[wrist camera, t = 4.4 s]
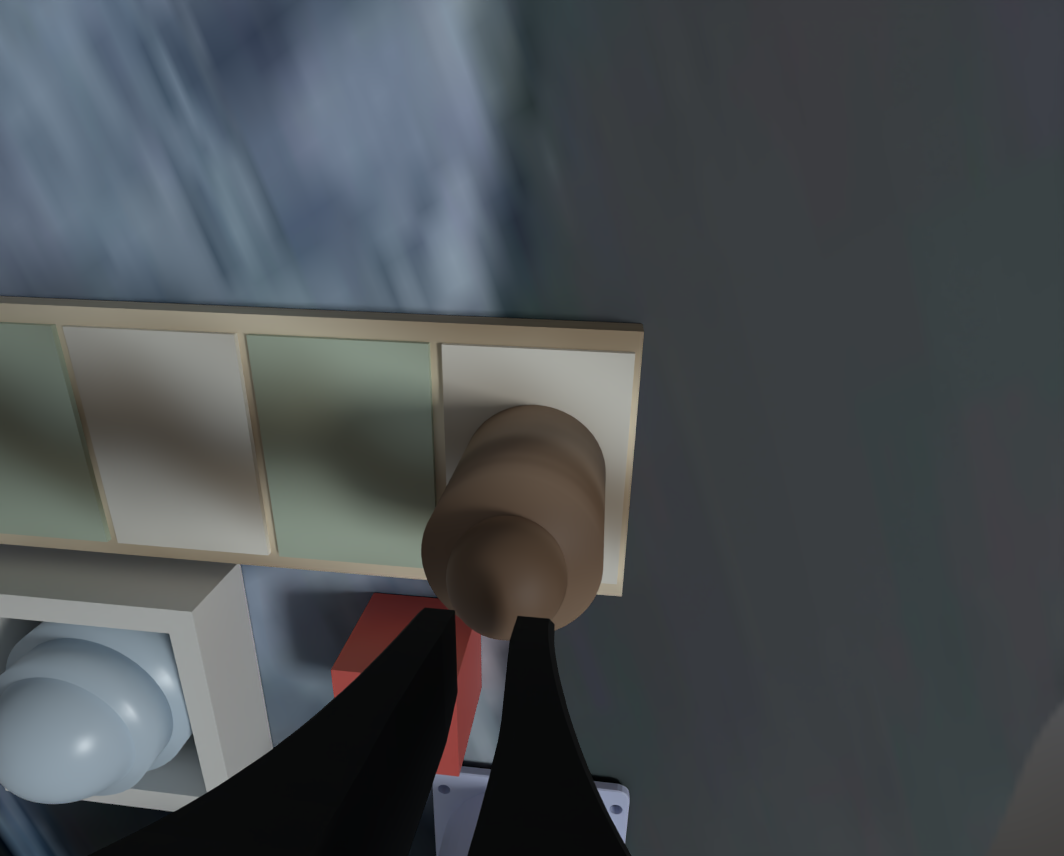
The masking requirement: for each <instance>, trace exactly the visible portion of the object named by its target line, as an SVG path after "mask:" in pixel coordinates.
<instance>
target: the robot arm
mask: <svg viewBox="0 0 1064 856" xmlns="http://www.w3.org/2000/svg"><path fill="white" fill-rule="evenodd" d="M554 631H555V624H554V623H553V622H552V621H551V620H550V619H548V618H537V617H526V616H517V619H516V622H515V625H514V628H513V631H512V634H511V638H510V643H509V653H508V662H507V672H506V682H505V691H504V701H503V711H502V721H501V727H500V733H499V739H498V743H497V747H496V751H495V755H494V759H493V763H492V767H491V769H484V768H475V767H466V766H462V767H461V771H460V775H459V777H458V776H449V775H440V774H436V772H437V769H438V766H439V764H440V761H441V758H442V755H443V752H444V749H445V746H446V743H447V738H448V734H449V730H450V725H451V721H452V716H453V712H454V707H455V703H456V698H457V693H458V685H457V654H456V623H455V610H447V609H436V608H423V609H422V610H421V611H420V612H419V613H418V614H417V615H416V616H415V617H414V618H413V619H412V620H411V621H410V623H409V624H408V625H407V626H406V627H405V628H404V629H403V630H402V631H401V632H400V634H399V635H398V636H397V637H396V638H395V639H394V640H393V641H392V642H391V643H390V644H389V645H388V646H387V647H386V648H385V649H384V651H383V652H382V653H381V654H380V655H379V656H378V657H377V658H376V659H375V660H374V661H373V662H372V663H371V664H370V665H369V666H368V667H367V668H366V669H365V670H364V671H363V672H362V673H361V674H360V675H359V676H358V677H357V678H356V679H355V680H354V681H353V682H351V683H350V684H349V685H348V686H347V687H346V688H345V689H344V690H343V691H342V692H340V693H339V694H338V695H337V696H336V697H335V698H334V699H333V700H332V701H331V702H329V703H328V704H327V705H326V706H325V707H324V708H323V709H322V710H321V711H319V712H318V713H317V714H316V715H315V716H313V717H312V718H311V719H310V720H309V721H307V722H306V723H305V724H304V725H303V726H301V727H300V728H299V729H298V730H296V731H295V732H294V733H293V734H291V735H290V736H289V737H287V738H286V739H285V740H283V741H282V742H281V743H280V744H278V745H277V746H276V747H274V748H273V749H272V750H270V751H269V752H267V753H266V754H265V755H263V756H262V757H260V758H259V759H257V760H256V761H255V762H253V763H252V764H250V765H249V766H247V767H246V768H244V769H243V770H241V771H240V772H238V773H237V774H235V775H234V776H232V777H231V778H229V779H228V780H226V781H225V782H223V783H222V784H220V785H218V786H217V787H215V788H214V789H212V790H210V791H209V792H207V793H205V794H204V795H202V796H200V797H199V798H197V799H195V800H194V801H192V802H190V803H189V804H187V805H185V806H183V807H181V808H180V809H178V810H176V811H174V812H173V813H171V814H169V815H167V816H165V817H164V818H162V819H160V820H158V821H156V822H154V823H153V824H151V825H149V826H147V827H145V828H143V829H141V830H139V831H137V832H135V833H133V834H131V835H129V836H127V837H125V838H123V839H121V840H119V841H117V842H115V843H113V844H111V845H109V846H107V847H105V848H103V849H101V850H99V851H97V852H95V853H93V854H91V855H88V856H408V853H409V850H410V847H411V844H412V841H413V838H414V836H415V833H416V830H417V827H418V824H419V821H420V818H421V816H422V813H423V810H424V807H425V804H426V801H427V798H428V795H429V793H430V790H431V787H432V786H433V804H434V823H435V841H436V856H631V854H630V853H629V851H628V849H627V847H626V845H625V839H626V829H627V819H628V810H629V791H628V789H627V788H626V787H625V786H623V785H621V784H616V783H608V782H599V781H594V780H593V778H592V776H591V773H590V771H589V769H588V766H587V764H586V761H585V758H584V756H583V753H582V751H581V748H580V745H579V742H578V739H577V737H576V734H575V731H574V728H573V725H572V722H571V719H570V715H569V712H568V709H567V705H566V701H565V697H564V694H563V690H562V686H561V682H560V677H559V673H558V668H557V662H556V656H555V647H554ZM446 785H447V786H446Z"/></svg>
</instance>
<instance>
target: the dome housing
mask: <svg viewBox="0 0 1064 856" xmlns="http://www.w3.org/2000/svg"><path fill="white" fill-rule="evenodd" d="M43 621H45V622H55V623H65V624H76V625H86V626H96V627H107V628H117V629H127V630H137V631H148V632H158V633H168V634H169V635H170V639H171V643H172V647H173V651H174V656H175V660H176V664H177V668H178V673H179V677H180V681H181V685H182V690H183V694H184V698H185V702H186V706H187V711H188V715H189V719H190V723H191V728H192V732H193V733H192V735H191V736H190V737H189V739H188V740H187V741H186V743H185V744H184V745H183V747H182V748H181V749H180V751H179V752H178V754H177V755H176V756H175V757H174V758H173V759H172V760H171V761H169V762H168V763H166V764H165V765H163V766H161V767H159V768H157V769H153V770H150V771H147V772H146V773H145V775H144V776H143V777H142V778H141V780H140V781H139V782H138V783H137V784H136V785H134V786H133V787H131V788H130V789H128V790H126V791H124V792H121V793H118V794H114V795H107V796H91V797H89V798H86V799H83V800H85V801H93V802H101V803H109V804H117V805H125V806H133V807H141V808H149V809H156V810H164V811H172V812H174V811H176V810H178V809H180V808H181V807H183V806H185V805H187V804H189V803H190V802H192V801H194V800H195V799H197V798H199V797H200V796H202V795H204V794H205V793H207V792H209V791H210V790H212V789H214V788H215V787H217V786H218V785H220V784H222V783H223V782H225V781H226V780H228V779H229V778H231V777H232V776H234V775H235V774H237V773H238V772H240V771H241V770H243V769H244V768H246V767H247V766H249V765H250V764H252V763H253V762H255V761H256V760H257V759H259V758H260V757H262V756H263V755H265V754H266V753H267V752H269V751H270V750H272V749H273V746H272V740H271V735H270V729H269V724H268V718H267V712H266V707H265V701H264V695H263V690H262V684H261V678H260V673H259V667H258V661H257V656H256V650H255V644H254V639H253V633H252V628H251V622H250V616H249V611H248V605H247V599H246V594H245V588H244V582H243V577H242V571H241V565H240V564H233V563H222V562H210V561H198V560H186V559H174V558H163V557H151V556H139V555H127V554H116V553H104V552H92V551H80V550H68V549H57V548H45V547H33V546H21V545H9V544H0V675H1V674H2V673H4V672H5V671H6V664H7V660H8V657H9V655H10V652H11V650H12V649H13V648H14V646H15V645H16V644H17V643H18V642H19V641H20V640H21V639H22V638H23V637H25V636H26V635H27V634H28V633H30V632H31V631H32V630H33V629H35V628H36V627H37V626H38V625H40V624H41V623H42V622H43ZM5 789H6V788H5ZM6 791H9V790H7V789H6Z"/></svg>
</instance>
